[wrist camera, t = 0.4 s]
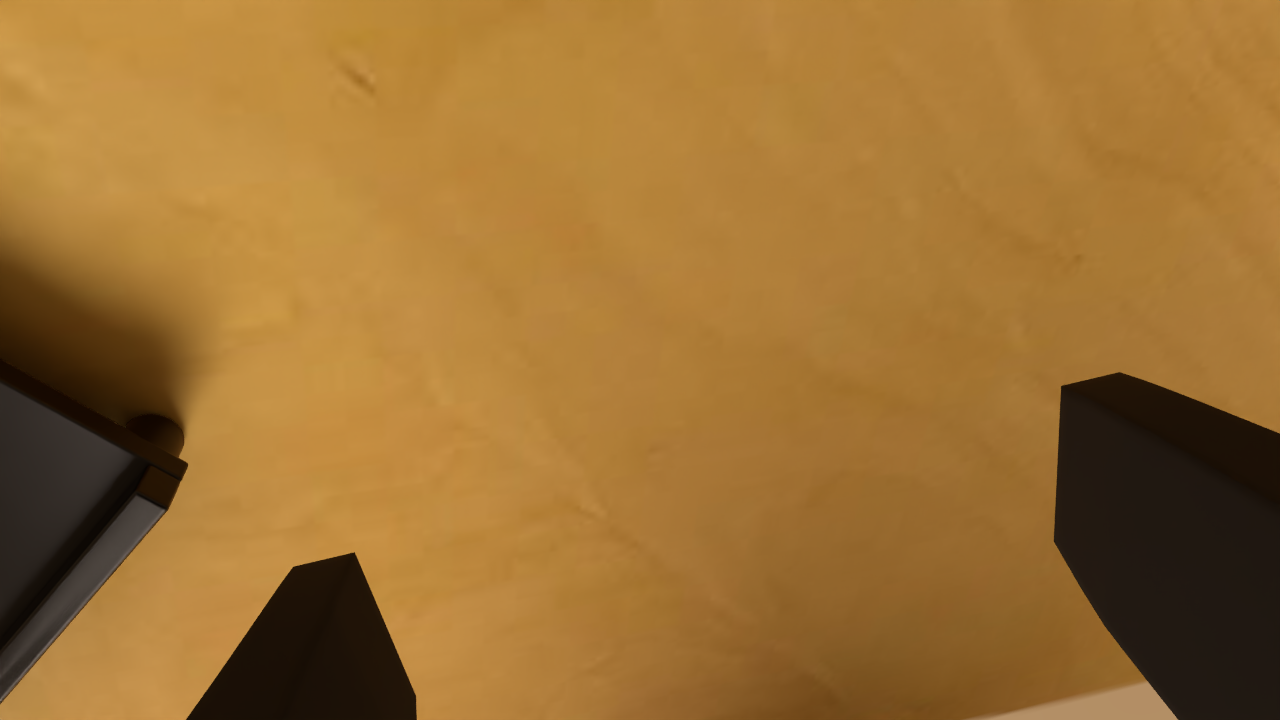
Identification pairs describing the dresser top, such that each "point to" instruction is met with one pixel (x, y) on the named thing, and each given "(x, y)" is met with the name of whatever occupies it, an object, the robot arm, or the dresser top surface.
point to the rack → (69, 508)
